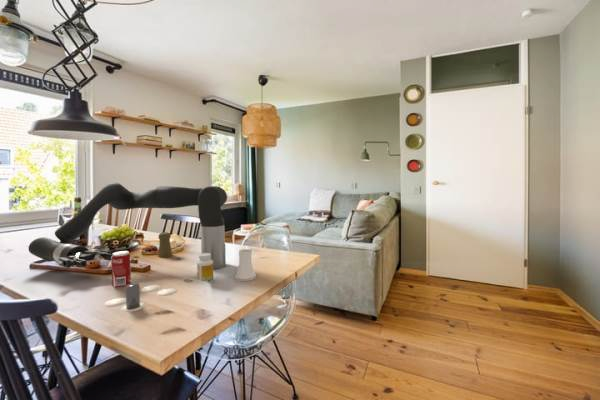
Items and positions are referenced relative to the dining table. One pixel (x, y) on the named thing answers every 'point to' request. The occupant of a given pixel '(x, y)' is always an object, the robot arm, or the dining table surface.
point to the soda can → (121, 269)
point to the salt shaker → (245, 266)
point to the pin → (132, 296)
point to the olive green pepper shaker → (164, 245)
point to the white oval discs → (147, 289)
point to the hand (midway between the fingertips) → (99, 260)
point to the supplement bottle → (205, 267)
